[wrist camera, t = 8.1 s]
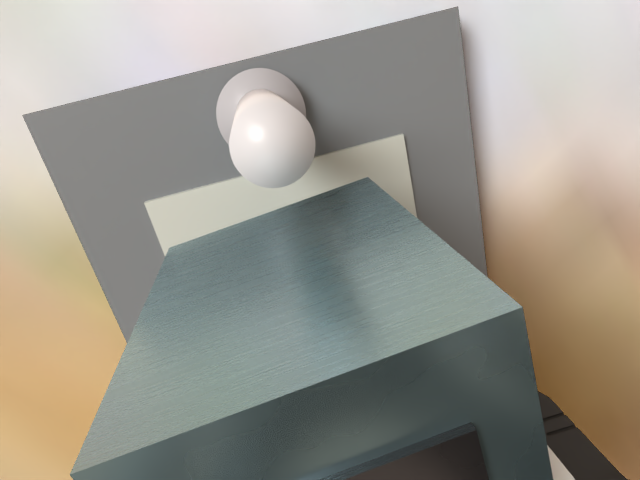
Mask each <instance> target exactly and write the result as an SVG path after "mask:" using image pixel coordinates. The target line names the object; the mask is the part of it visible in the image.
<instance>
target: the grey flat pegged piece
mask: <svg viewBox="0 0 640 480" xmlns="http://www.w3.org/2000/svg"><path fill="white" fill-rule="evenodd" d="M22 116H23V118H24V120H25V122H26V124H27V126H28V129H29V131H30V133H31V135H32V137H33V139H34V142H35V144H36V146H37V148H38V150H39V153H40V155H41V157H42V159H43V161H44V163H45V166H46V168H47V170H48V172H49V174H50V176H51V179H52V181H53V183H54V185H55V187H56V190H57V192H58V194H59V196H60V198H61V200H62V203H63V205H64V207H65V209H66V211H67V213H68V216H69V218H70V220H71V222H72V224H73V226H74V229H75V231H76V233H77V235H78V237H79V240H80V242H81V244H82V246H83V248H84V250H85V253H86V255H87V257H88V259H89V261H90V263H91V266H92V268H93V270H94V272H95V274H96V277H97V279H98V281H99V283H100V285H101V287H102V290H103V292H104V294H105V296H106V298H107V300H108V303H109V305H110V307H111V309H112V311H113V314H114V316H115V318H116V320H117V322H118V324H119V327H120V329H121V331H122V333H123V335H124V337H125V340H126V342H127V343H128V341H129V339H130V336H131V334H132V332H133V329H134V327H135V325H136V323H137V320H138V318H139V316H140V313H141V311H142V309H143V307H144V304H145V302H146V300H147V297H148V295H149V293H150V291H151V288H152V286H153V284H154V281H155V279H156V277H157V275H158V272H159V270H160V268H161V265H162V263H163V261H164V259H165V256H166V254H167V252H168V249H169V248H170V247H173V246H176V245H178V244H181V243H184V242H187V241H190V240H192V239H195V238H198V237H201V236H204V235H206V234H209V233H212V232H215V231H218V230H220V229H223V228H226V227H229V226H232V225H234V224H237V223H240V222H243V221H246V220H248V219H251V218H254V217H257V216H260V215H262V214H265V213H268V212H271V211H274V210H276V209H279V208H282V207H285V206H288V205H290V204H293V203H296V202H299V201H302V200H304V199H307V198H310V197H313V196H316V195H318V194H321V193H324V192H327V191H329V190H332V189H335V188H338V187H341V186H343V185H346V184H349V183H352V182H355V181H357V180H360V179H363V178H366V177H369V178H370V179H371V180H372V181H373V182H375V183H376V184H377V185H378V186H379V187H381V188H382V189H383V190H384V191H385V192H386V193H388V194H389V195H390V196H391V197H392V198H394V199H395V200H396V201H397V202H398V203H400V204H401V205H402V206H403V207H404V208H405V209H407V210H408V211H409V212H410V213H411V214H413V215H414V216H415V217H416V218H417V219H419V220H420V221H421V222H422V223H423V224H424V225H426V226H427V227H428V228H429V229H430V230H432V231H433V232H434V233H435V234H436V235H438V236H439V237H440V238H441V239H442V240H444V241H445V242H446V243H447V244H448V245H449V246H451V247H452V248H453V249H454V250H455V251H457V252H458V253H459V254H460V255H461V256H463V257H464V258H465V259H466V260H467V261H468V262H470V263H471V264H472V265H473V266H474V267H476V268H477V269H478V270H479V271H480V272H482V273H483V274H484V275H485V276H486V277H487V267H486V258H485V249H484V240H483V231H482V221H481V212H480V203H479V194H478V185H477V175H476V166H475V157H474V148H473V139H472V129H471V120H470V111H469V102H468V93H467V83H466V74H465V65H464V56H463V47H462V37H461V28H460V19H459V10H458V7H454V8H450V9H446V10H442V11H438V12H434V13H430V14H426V15H422V16H418V17H414V18H410V19H406V20H402V21H398V22H394V23H390V24H386V25H382V26H378V27H374V28H370V29H366V30H362V31H358V32H354V33H350V34H346V35H342V36H338V37H334V38H330V39H326V40H322V41H318V42H314V43H310V44H306V45H302V46H298V47H294V48H290V49H286V50H282V51H278V52H274V53H270V54H266V55H262V56H258V57H254V58H250V59H246V60H242V61H238V62H234V63H229V64H225V65H221V66H217V67H213V68H209V69H205V70H201V71H197V72H193V73H189V74H185V75H181V76H177V77H173V78H169V79H165V80H161V81H157V82H153V83H149V84H145V85H141V86H137V87H133V88H129V89H125V90H121V91H117V92H113V93H109V94H105V95H101V96H97V97H93V98H89V99H85V100H81V101H77V102H73V103H69V104H65V105H61V106H57V107H53V108H49V109H45V110H41V111H37V112H33V113H29V114H25V115H22Z"/></svg>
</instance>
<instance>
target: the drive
mask: <svg viewBox="0 0 640 480" xmlns="http://www.w3.org/2000/svg"><path fill="white" fill-rule="evenodd" d="M70 476H71V477H72V478H73V480H553V475H552V469H551V464H550V458H549V452H548V447H547V441H546V436H545V430H544V424H543V419H542V413H541V407H540V402H539V396H538V391H537V385H536V379H535V374H534V368H533V362H532V357H531V351H530V346H529V340H528V334H527V329H526V323H525V317H524V312H523V307H522V306H521V305H520V304H518V303H517V302H516V301H515V300H514V299H512V298H511V297H510V296H509V295H508V294H507V293H505V292H504V291H503V290H502V289H501V288H499V287H498V286H497V285H496V284H495V283H493V282H492V281H491V280H490V279H489V278H488V277H486V276H485V275H484V274H483V273H482V272H480V271H479V270H478V269H477V268H476V267H474V266H473V265H472V264H471V263H470V262H468V261H467V260H466V259H465V258H464V257H463V256H461V255H460V254H459V253H458V252H457V251H455V250H454V249H453V248H452V247H451V246H449V245H448V244H447V243H446V242H445V241H444V240H442V239H441V238H440V237H439V236H438V235H436V234H435V233H434V232H433V231H432V230H430V229H429V228H428V227H427V226H426V225H424V224H423V223H422V222H421V221H420V220H419V219H417V218H416V217H415V216H414V215H413V214H411V213H410V212H409V211H408V210H407V209H405V208H404V207H403V206H402V205H401V204H400V203H398V202H397V201H396V200H395V199H394V198H392V197H391V196H390V195H389V194H388V193H386V192H385V191H384V190H383V189H382V188H381V187H379V186H378V185H377V184H376V183H375V182H373V181H372V180H371V179H370V178H369V177H366V178H363V179H360V180H357V181H355V182H352V183H349V184H346V185H343V186H341V187H338V188H335V189H332V190H329V191H327V192H324V193H321V194H318V195H316V196H313V197H310V198H307V199H304V200H302V201H299V202H296V203H293V204H290V205H288V206H285V207H282V208H279V209H276V210H274V211H271V212H268V213H265V214H262V215H260V216H257V217H254V218H251V219H248V220H246V221H243V222H240V223H237V224H234V225H232V226H229V227H226V228H223V229H220V230H218V231H215V232H212V233H209V234H206V235H204V236H201V237H198V238H195V239H192V240H190V241H187V242H184V243H181V244H178V245H176V246H173V247H170V248H169V249H168V252H167V254H166V256H165V259H164V261H163V263H162V265H161V268H160V270H159V272H158V275H157V277H156V279H155V281H154V284H153V286H152V288H151V291H150V293H149V295H148V297H147V300H146V302H145V304H144V307H143V309H142V311H141V313H140V316H139V318H138V320H137V323H136V325H135V327H134V329H133V332H132V334H131V336H130V339H129V341H128V343H127V345H126V348H125V350H124V352H123V354H122V357H121V359H120V361H119V364H118V366H117V368H116V370H115V373H114V375H113V377H112V380H111V382H110V384H109V386H108V389H107V391H106V393H105V396H104V398H103V400H102V402H101V405H100V407H99V409H98V412H97V414H96V416H95V418H94V421H93V423H92V425H91V428H90V430H89V432H88V434H87V437H86V439H85V441H84V444H83V446H82V448H81V450H80V453H79V455H78V457H77V460H76V462H75V464H74V466H73V469H72V471H71V473H70Z"/></svg>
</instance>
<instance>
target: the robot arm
mask: <svg viewBox="0 0 640 480" xmlns="http://www.w3.org/2000/svg"><path fill="white" fill-rule="evenodd" d="M538 396H539V402H540V407H541V413H542V419H543V424H544V430H545V436H546V441H547V447H548V452H549V458H550V464H551V469H552V475H553V480H628V479H626V478H625V477H624V476H623V475H622V474H621V473H619V471H618V470H617V469H616V468H615V467H614V466H613V465H612V464H611V463H610V462H609V461H608V460H607V459H606V458H605V457H604V455H603V454H602V453H601V452H600V451H599V450H598V449H597V448H596V447H595V446H594V445H593V444H592V443H591V442H590V440H589V439H588V438H587V437H586V436H585V435H584V434H583V433H582V432H581V431H580V430H579V429H578V428H576V427H575V425H574V423H573V422H572V421H571V420H570V419H569V418H568V417H567V416H566V415H564V414H563V412H562V411H561V410H560V408H559V407H558V406H557V405H556V404H555V403H554V402H553V401H552V400H551V399H550V398H549V397H547V396H545V395H544V394H542V393H540V392H538Z"/></svg>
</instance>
